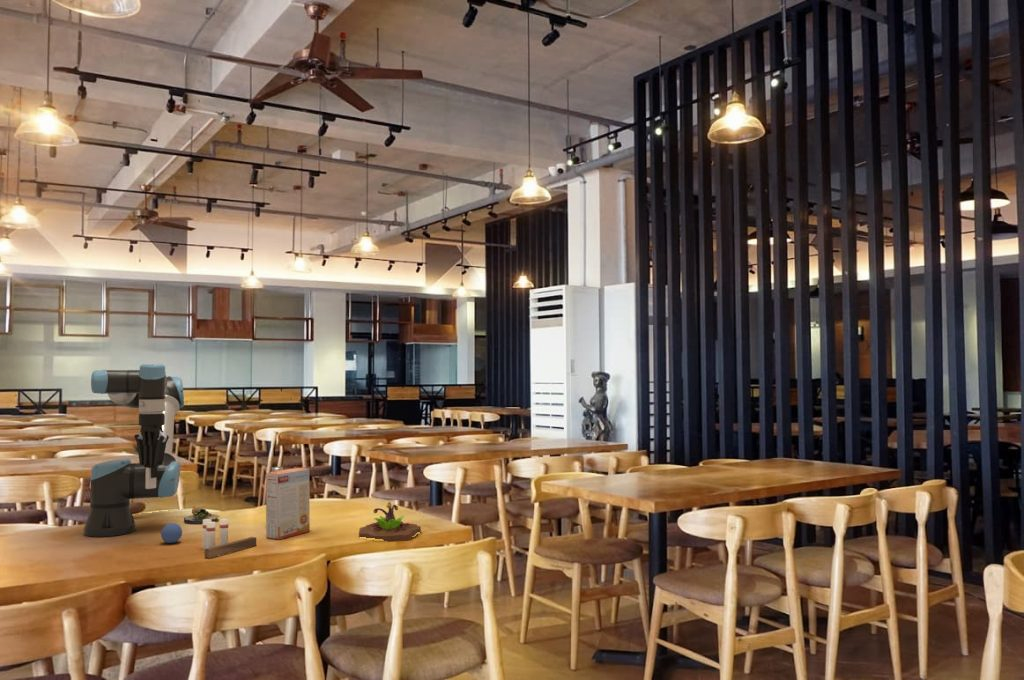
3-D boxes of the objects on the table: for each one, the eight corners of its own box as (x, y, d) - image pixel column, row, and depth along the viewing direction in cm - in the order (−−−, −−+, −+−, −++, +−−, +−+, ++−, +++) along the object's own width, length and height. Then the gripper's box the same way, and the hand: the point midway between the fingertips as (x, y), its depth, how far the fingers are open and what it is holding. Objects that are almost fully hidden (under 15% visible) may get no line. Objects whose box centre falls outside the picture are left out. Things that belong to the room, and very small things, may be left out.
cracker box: (296, 530, 267) (297, 467, 267) (310, 532, 264) (310, 468, 264) (264, 538, 255) (265, 472, 255) (278, 540, 252) (278, 473, 252)
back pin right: (204, 551, 236) (204, 522, 236) (210, 550, 238) (211, 521, 239) (210, 552, 235) (210, 523, 235) (217, 550, 237) (217, 522, 238)
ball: (156, 544, 246) (156, 524, 246) (172, 540, 252) (172, 520, 252) (170, 546, 244) (170, 526, 244) (186, 542, 249) (186, 522, 249)
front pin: (200, 548, 240) (200, 519, 241) (207, 546, 243) (207, 518, 243) (206, 549, 239) (206, 520, 240) (213, 547, 242) (213, 519, 242)
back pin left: (217, 548, 241) (217, 519, 241) (223, 546, 243) (224, 518, 243) (223, 549, 240) (223, 520, 240) (229, 547, 242) (230, 519, 242)
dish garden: (208, 526, 275) (208, 504, 275) (176, 524, 277) (176, 503, 277) (225, 519, 287) (226, 498, 287) (195, 518, 289) (195, 497, 289)
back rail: (204, 557, 229) (204, 549, 229) (251, 545, 245) (251, 536, 245) (209, 558, 228) (209, 549, 228) (256, 545, 244) (256, 537, 244)
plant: (351, 542, 250) (351, 506, 251) (364, 529, 270) (365, 496, 270) (415, 543, 250) (415, 507, 250) (424, 530, 269) (424, 496, 270)
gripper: (127, 413, 253) (126, 488, 252) (156, 414, 247) (155, 491, 246) (147, 411, 259) (146, 485, 259) (176, 412, 253) (175, 488, 253)
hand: (150, 488), depth 252 cm, fingers closed
